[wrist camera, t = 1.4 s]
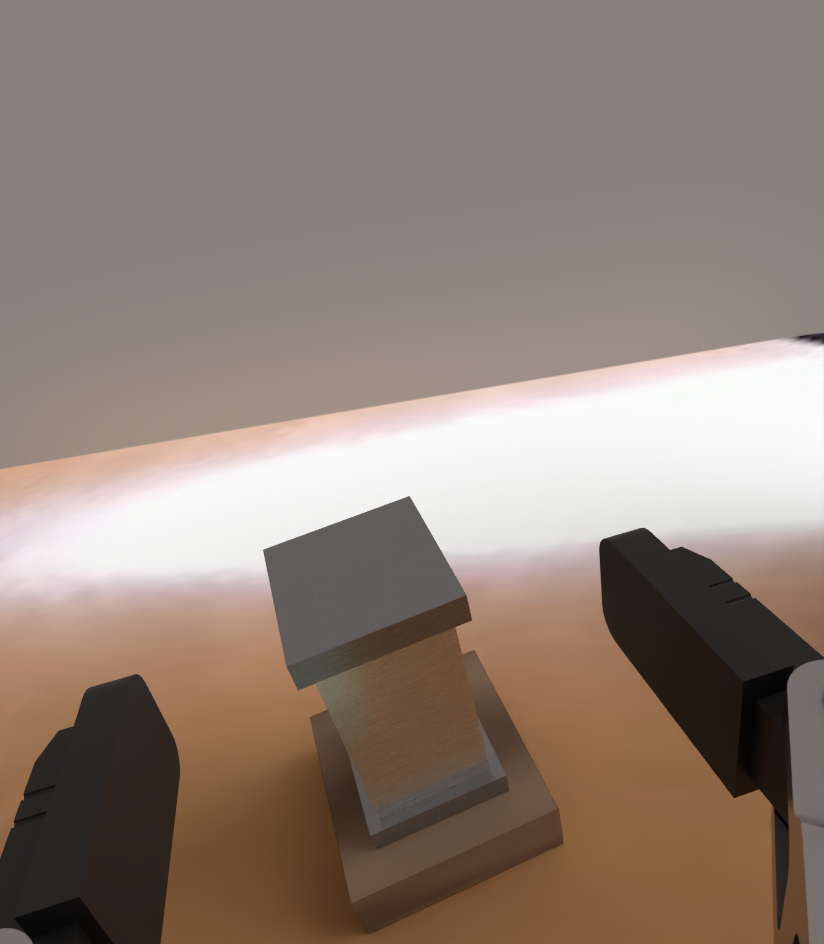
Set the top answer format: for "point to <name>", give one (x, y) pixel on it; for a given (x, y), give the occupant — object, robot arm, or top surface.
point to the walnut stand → (439, 823)
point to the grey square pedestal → (387, 664)
